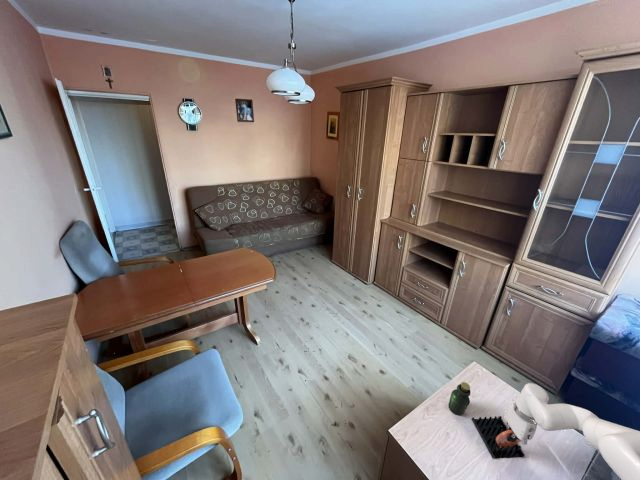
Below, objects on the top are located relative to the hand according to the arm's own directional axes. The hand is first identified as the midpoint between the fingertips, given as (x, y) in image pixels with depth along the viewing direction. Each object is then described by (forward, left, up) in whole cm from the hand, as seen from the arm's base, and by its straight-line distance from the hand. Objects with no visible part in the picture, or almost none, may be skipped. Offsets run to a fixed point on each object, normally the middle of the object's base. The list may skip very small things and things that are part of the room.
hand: (509, 438), depth 111 cm
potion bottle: (+18, +12, -9) cm, 23 cm away
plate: (0, 0, -6) cm, 6 cm away
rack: (+5, 0, -9) cm, 10 cm away
